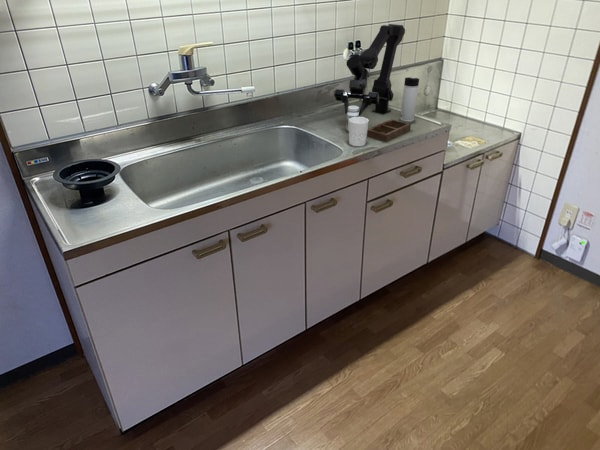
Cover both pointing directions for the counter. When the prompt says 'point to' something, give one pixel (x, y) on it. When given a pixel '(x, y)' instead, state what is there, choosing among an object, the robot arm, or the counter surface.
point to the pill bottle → (351, 114)
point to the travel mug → (409, 100)
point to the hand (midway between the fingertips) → (352, 114)
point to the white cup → (358, 131)
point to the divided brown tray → (388, 130)
